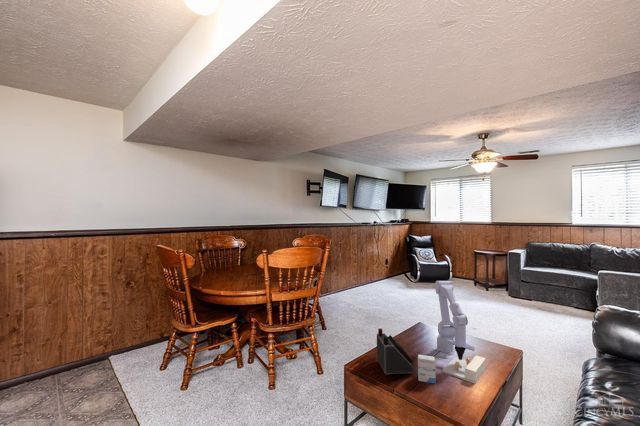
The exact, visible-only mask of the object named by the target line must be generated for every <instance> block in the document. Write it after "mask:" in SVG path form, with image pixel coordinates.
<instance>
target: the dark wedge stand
mask: <svg viewBox="0 0 640 426" xmlns="http://www.w3.org/2000/svg"><path fill="white" fill-rule="evenodd" d="M377 330H378V332H377V333H376V360H377V362H378V363H379V365H380V367H381V369H382V371H383V373H384V375H386V376H390V374H392V375H394V374H408V375H411V374H413V373H415V367H414V366H413V364H412V363H413V362H414V361H413V359H412V358H411V357H410V355H409V354H408V353H407V351H406V350H405V349H404V348H403V346H401V344H399V342H398V341H396V339H395V338H394V337H393V336H392V335H391V334H389V336H388V335H387V334H386V333H383V328H378V329H377Z"/></svg>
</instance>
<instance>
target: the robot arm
mask: <svg viewBox="0 0 640 426" xmlns="http://www.w3.org/2000/svg"><path fill="white" fill-rule="evenodd" d="M434 289H435V293H436V294H437V295H438V301H439V308H440V316H441V321H439V322H438V324H437V327H438V328H437V332H438V335H437V336H436V351H438V352H442V353H444V354H447V355H450V356H451V355H454V353H456V354H457V358H459V360H462V359H463V357H464V354H465V351H466V350H469V351H472V352H475V350H476V349H475V347H476V346H473V345H471V344H468V343H467V341H466V340H467V334H466V333H467V330H466V329H467V325H468V323H469V321H468V317H467V315H466V314H465V312H463V310H462V308H461V306H460V304H459V303H458V302H457V299H456V298H455V295H454V283H453V281H452V280H436V281H435V284H434ZM448 302H449V303H448ZM450 312H451V315H452V321H451V316H450Z"/></svg>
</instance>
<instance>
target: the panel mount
mask: <svg viewBox="0 0 640 426" xmlns="http://www.w3.org/2000/svg"><path fill="white" fill-rule="evenodd" d="M471 359H472V360H471V362H470V363H469V364H468V365H467V364H466V360H467V359H466V360H465V359H463V358H462V360H459V358H458V356H455V357H453V358H452V360H450V362H449V363H448V364H447V365H446V366H445V367H444V368H442V373H446V374H447V375H451V376H452V377H456V378H458V379H461V380H464V381H466V382H469V383H472V384H474V385H476V384H477V383H478V380H479V379H480V378H481V377H482V376H483V374H484V373H485V371H486V370H487V358H486V357H482V356H479V355H475V356H473V358H471ZM456 362H459V364H460V365H461V366H462V369H461V368H459V369H458V370H457V369H455V363H456Z"/></svg>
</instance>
